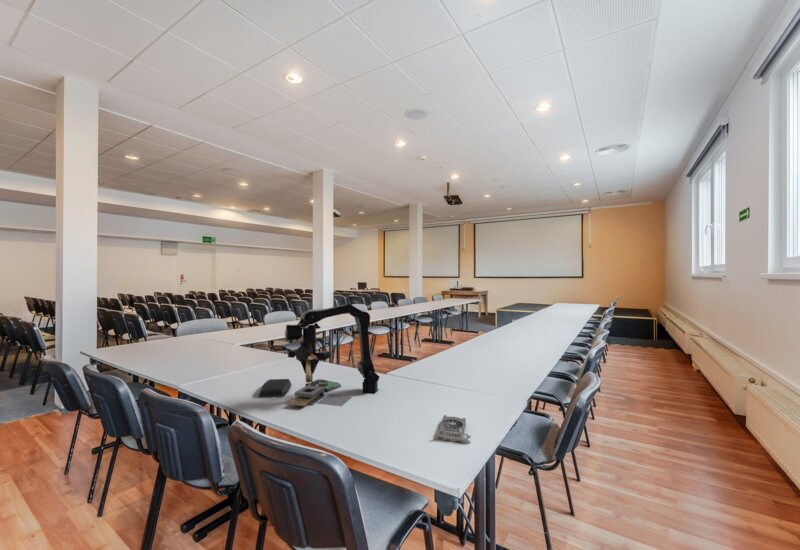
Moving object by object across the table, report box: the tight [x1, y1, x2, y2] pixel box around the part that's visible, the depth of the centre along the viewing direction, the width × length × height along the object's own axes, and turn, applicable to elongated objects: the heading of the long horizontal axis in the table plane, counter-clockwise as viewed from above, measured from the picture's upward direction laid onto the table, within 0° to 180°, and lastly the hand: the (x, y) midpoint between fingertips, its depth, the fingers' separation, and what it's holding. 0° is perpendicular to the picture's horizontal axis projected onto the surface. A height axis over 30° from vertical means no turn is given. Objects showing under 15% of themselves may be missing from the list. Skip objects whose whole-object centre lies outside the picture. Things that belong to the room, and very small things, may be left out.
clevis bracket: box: [288, 385, 325, 407], centre depth 153 cm, size 16×9×5 cm, turn 164°
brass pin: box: [305, 357, 314, 383], centre depth 155 cm, size 3×3×10 cm
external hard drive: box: [257, 378, 292, 399], centre depth 169 cm, size 13×19×4 cm
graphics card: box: [435, 414, 471, 444], centre depth 125 cm, size 17×4×12 cm
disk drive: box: [305, 378, 342, 393], centre depth 174 cm, size 10×3×15 cm
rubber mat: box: [316, 394, 353, 407], centre depth 155 cm, size 12×12×1 cm
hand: (309, 373), depth 155 cm, fingers closed on brass pin, 3 cm apart
